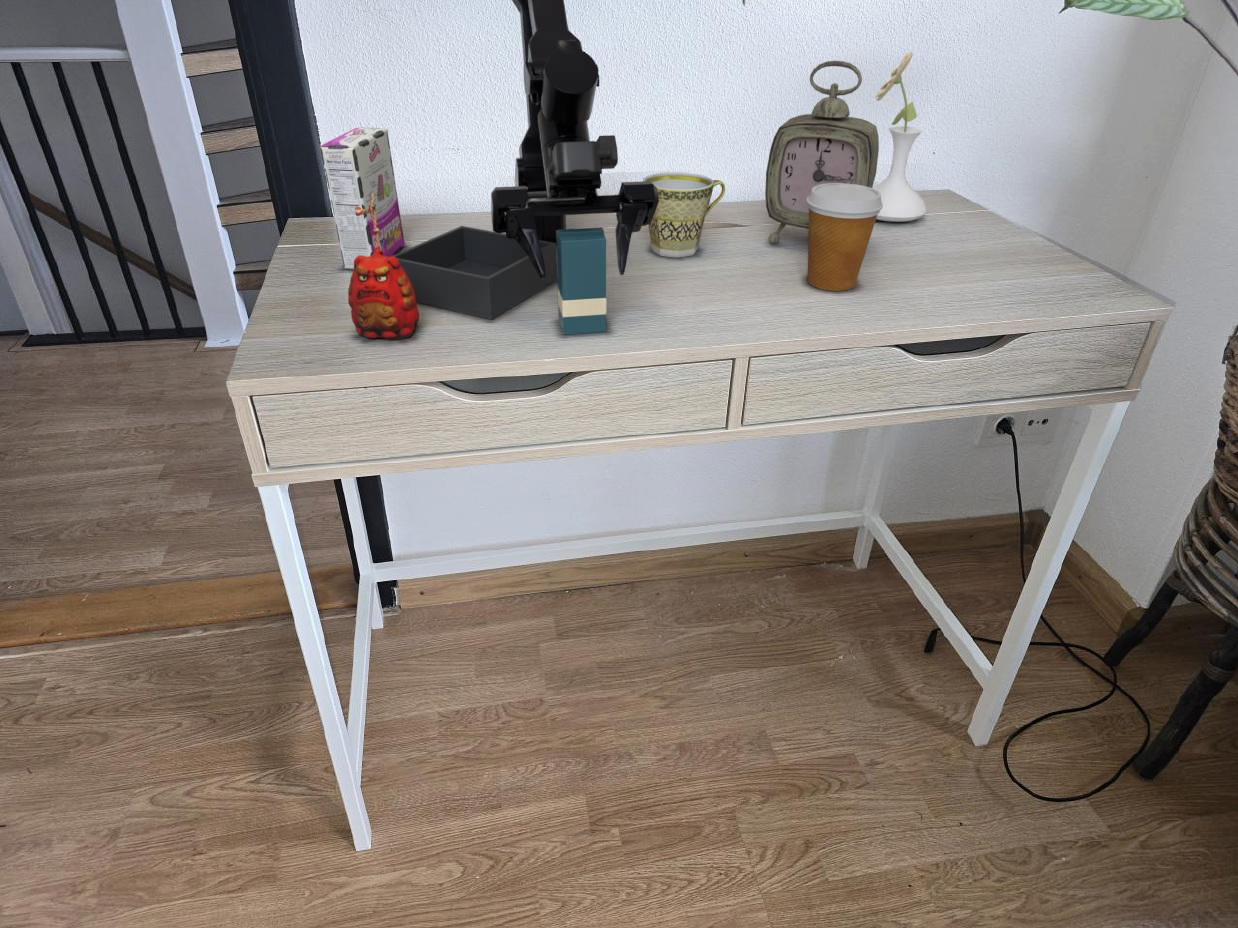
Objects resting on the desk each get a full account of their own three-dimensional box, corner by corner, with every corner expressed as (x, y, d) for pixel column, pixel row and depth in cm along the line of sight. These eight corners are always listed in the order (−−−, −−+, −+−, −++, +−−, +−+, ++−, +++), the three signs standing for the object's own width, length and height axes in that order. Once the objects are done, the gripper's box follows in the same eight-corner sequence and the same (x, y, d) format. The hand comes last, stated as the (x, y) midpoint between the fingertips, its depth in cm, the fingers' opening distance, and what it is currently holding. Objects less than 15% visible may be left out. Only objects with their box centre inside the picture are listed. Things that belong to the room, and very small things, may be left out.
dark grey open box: (465, 261, 114) (461, 225, 112) (557, 280, 109) (556, 243, 106) (392, 297, 103) (387, 257, 100) (491, 320, 97) (488, 279, 94)
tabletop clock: (758, 246, 122) (778, 61, 108) (771, 229, 129) (792, 54, 115) (856, 259, 117) (890, 68, 104) (864, 241, 124) (897, 60, 111)
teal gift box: (558, 321, 97) (555, 225, 91) (600, 318, 98) (600, 223, 92) (563, 335, 94) (560, 236, 88) (606, 332, 95) (606, 234, 88)
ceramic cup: (662, 265, 114) (665, 193, 108) (628, 245, 121) (630, 176, 116) (739, 252, 119) (745, 182, 114) (702, 233, 126) (707, 167, 121)
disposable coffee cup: (870, 275, 112) (887, 186, 105) (864, 300, 104) (882, 205, 98) (800, 267, 114) (813, 179, 108) (790, 290, 107) (802, 197, 100)
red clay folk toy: (347, 343, 91) (322, 208, 83) (363, 318, 97) (341, 190, 89) (415, 344, 91) (396, 209, 83) (427, 319, 97) (411, 191, 89)
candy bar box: (373, 244, 120) (355, 126, 111) (405, 246, 120) (389, 128, 111) (340, 270, 111) (317, 143, 102) (375, 272, 110) (355, 145, 101)
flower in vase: (877, 204, 142) (907, 44, 128) (937, 218, 135) (975, 51, 121) (834, 218, 134) (860, 49, 121) (895, 234, 127) (930, 57, 114)
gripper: (484, 109, 85) (500, 246, 82) (658, 105, 88) (679, 237, 85) (485, 169, 96) (499, 292, 93) (640, 163, 99) (658, 282, 96)
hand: (583, 275), depth 91 cm, fingers open, 9 cm apart
